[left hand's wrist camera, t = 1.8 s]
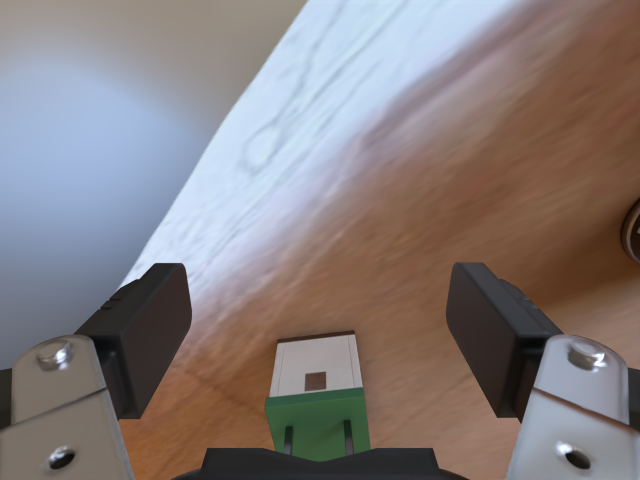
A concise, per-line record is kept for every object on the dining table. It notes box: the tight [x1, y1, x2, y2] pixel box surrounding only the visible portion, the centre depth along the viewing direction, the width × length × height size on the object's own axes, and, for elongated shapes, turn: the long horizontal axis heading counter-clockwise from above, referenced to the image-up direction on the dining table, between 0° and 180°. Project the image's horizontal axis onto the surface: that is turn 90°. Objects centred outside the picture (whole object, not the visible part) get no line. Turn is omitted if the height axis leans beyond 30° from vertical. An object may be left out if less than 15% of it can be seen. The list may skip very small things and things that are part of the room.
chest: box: [269, 331, 363, 397], centre depth 43 cm, size 15×9×10 cm, turn 8°
